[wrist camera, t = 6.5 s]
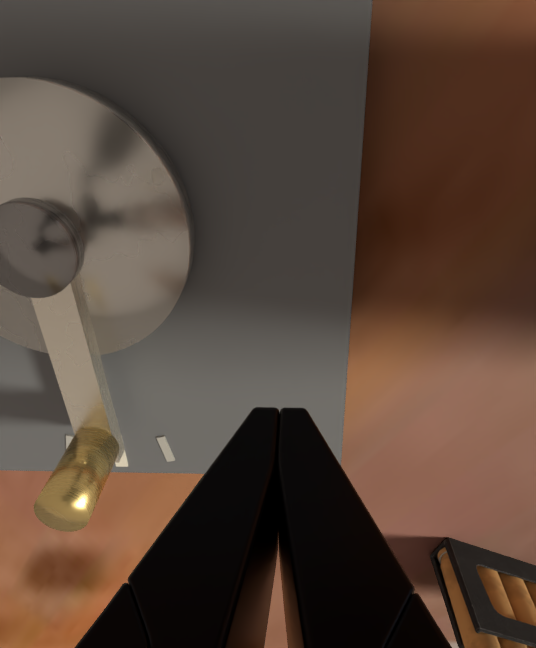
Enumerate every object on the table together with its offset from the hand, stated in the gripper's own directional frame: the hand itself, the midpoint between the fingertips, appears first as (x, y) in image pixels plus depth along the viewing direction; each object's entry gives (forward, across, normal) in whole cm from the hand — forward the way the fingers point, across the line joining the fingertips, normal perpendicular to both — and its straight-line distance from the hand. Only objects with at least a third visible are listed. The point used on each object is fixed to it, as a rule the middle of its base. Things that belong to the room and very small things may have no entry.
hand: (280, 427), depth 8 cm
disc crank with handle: (+11, +8, +3) cm, 14 cm away
